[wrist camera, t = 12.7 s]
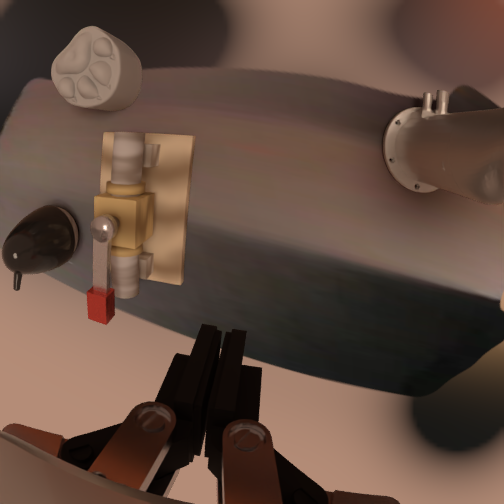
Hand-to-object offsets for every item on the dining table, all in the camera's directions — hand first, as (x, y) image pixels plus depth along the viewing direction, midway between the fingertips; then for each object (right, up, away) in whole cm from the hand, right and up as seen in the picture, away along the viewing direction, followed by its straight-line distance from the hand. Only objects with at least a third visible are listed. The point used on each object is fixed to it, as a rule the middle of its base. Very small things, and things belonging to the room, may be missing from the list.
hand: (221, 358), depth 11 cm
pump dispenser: (-31, +8, +35) cm, 48 cm away
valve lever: (-17, +2, +24) cm, 29 cm away
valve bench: (-15, +11, +32) cm, 37 cm away
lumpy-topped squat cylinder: (-20, +31, +26) cm, 45 cm away
